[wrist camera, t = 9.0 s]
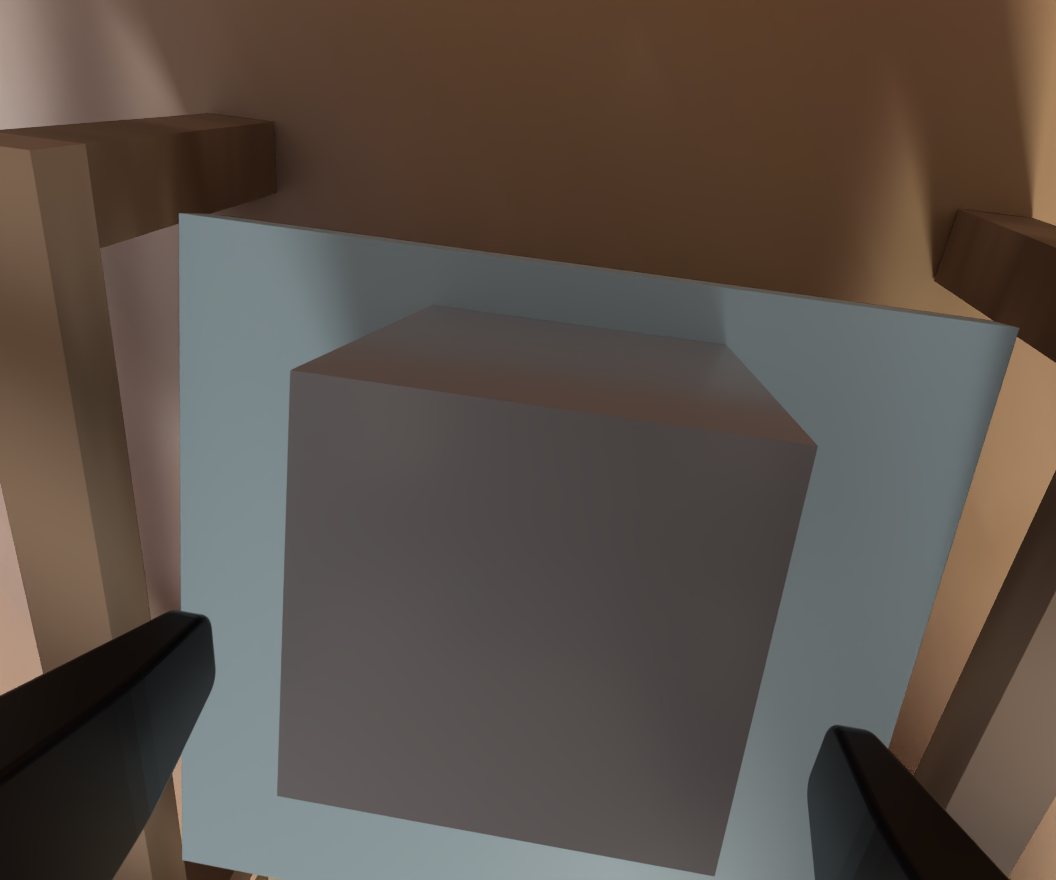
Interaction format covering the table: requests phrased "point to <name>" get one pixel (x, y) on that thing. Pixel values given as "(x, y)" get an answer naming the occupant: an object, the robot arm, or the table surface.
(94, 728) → the robot arm
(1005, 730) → the frame
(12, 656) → the table surface
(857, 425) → the trapdoor
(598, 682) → the stone
